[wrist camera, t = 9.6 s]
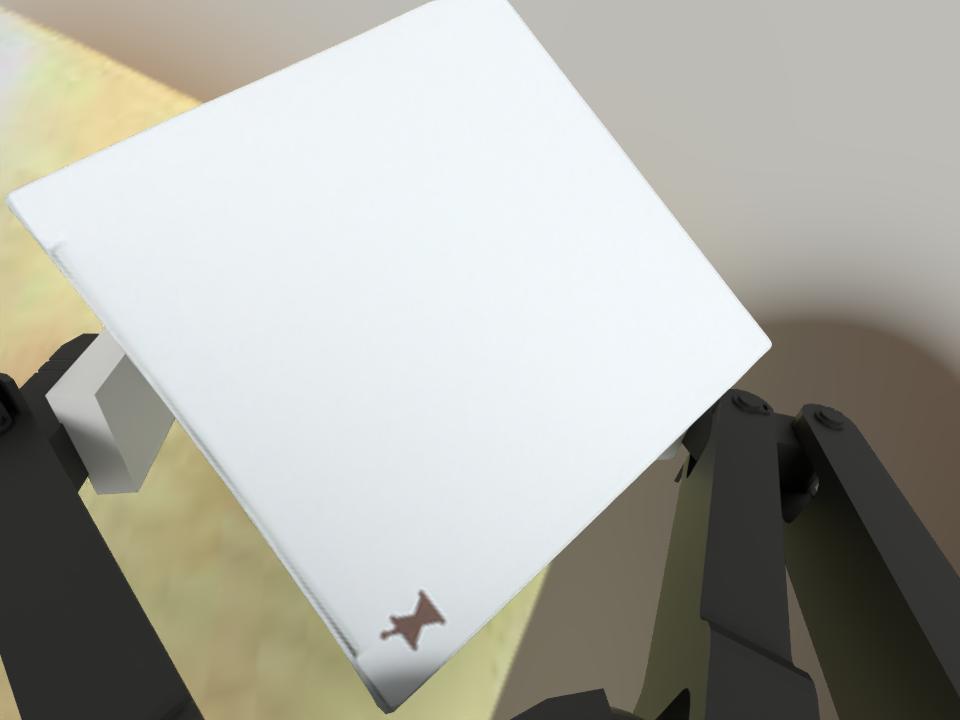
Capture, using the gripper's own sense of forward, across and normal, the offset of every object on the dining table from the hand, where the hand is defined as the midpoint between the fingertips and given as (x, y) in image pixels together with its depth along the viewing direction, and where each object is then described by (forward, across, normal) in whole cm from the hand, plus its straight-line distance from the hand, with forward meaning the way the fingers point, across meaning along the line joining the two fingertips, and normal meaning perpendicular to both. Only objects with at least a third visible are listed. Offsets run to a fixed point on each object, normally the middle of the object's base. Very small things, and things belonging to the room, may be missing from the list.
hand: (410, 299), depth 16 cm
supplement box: (+5, 0, -8) cm, 9 cm away
